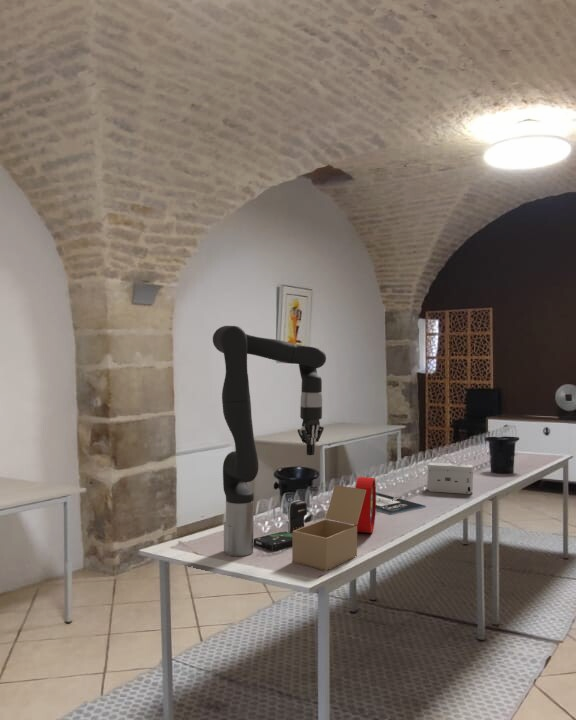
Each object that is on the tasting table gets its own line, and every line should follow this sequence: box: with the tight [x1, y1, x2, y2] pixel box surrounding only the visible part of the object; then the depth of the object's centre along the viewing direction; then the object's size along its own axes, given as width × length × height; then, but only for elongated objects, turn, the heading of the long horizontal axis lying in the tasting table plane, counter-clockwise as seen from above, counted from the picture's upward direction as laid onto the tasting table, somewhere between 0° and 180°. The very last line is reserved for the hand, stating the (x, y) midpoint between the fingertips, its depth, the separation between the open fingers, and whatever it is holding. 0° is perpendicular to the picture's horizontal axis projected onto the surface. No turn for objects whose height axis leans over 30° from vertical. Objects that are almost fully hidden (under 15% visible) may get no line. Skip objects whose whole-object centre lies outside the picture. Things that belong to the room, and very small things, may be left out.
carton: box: [291, 518, 358, 572], centre depth 215 cm, size 18×13×10 cm
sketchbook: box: [376, 491, 427, 515], centre depth 290 cm, size 22×30×2 cm
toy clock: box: [354, 476, 377, 534], centre depth 247 cm, size 20×6×20 cm, turn 167°
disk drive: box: [253, 530, 293, 552], centre depth 231 cm, size 10×3×15 cm
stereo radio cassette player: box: [427, 449, 474, 495], centre depth 315 cm, size 21×8×20 cm, turn 75°
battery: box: [287, 499, 308, 534], centre depth 245 cm, size 7×4×11 cm, turn 134°
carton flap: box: [325, 484, 366, 525], centre depth 225 cm, size 12×12×1 cm
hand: (310, 454), depth 232 cm, fingers closed
